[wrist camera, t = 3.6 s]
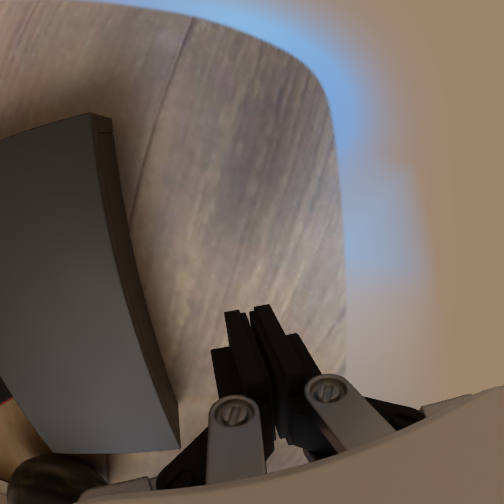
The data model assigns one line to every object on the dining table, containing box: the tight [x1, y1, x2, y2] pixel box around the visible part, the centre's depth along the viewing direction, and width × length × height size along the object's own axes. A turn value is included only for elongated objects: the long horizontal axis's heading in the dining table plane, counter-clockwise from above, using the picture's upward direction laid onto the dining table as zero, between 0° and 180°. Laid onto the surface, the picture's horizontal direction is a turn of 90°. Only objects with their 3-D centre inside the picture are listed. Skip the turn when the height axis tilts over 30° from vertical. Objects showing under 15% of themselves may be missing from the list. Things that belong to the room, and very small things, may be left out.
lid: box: [0, 112, 181, 454], centre depth 14 cm, size 18×9×4 cm, turn 5°
